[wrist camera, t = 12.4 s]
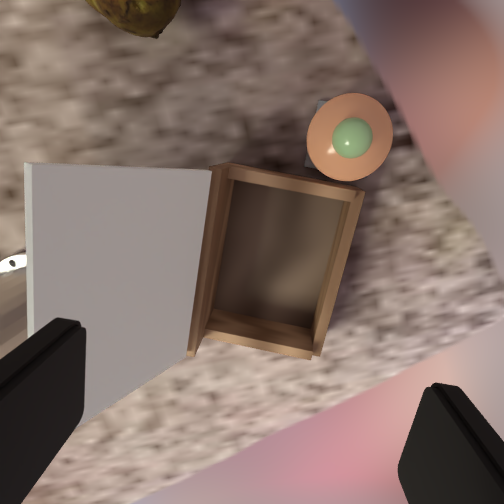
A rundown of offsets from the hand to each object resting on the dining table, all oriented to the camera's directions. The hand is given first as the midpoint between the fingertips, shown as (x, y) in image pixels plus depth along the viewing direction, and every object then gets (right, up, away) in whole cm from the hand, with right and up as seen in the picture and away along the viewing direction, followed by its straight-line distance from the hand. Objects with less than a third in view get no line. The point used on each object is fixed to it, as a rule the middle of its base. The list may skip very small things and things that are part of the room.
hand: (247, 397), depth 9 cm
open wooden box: (-1, +4, +28) cm, 28 cm away
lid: (-8, +1, +14) cm, 16 cm away
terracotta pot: (+8, +14, +23) cm, 28 cm away
